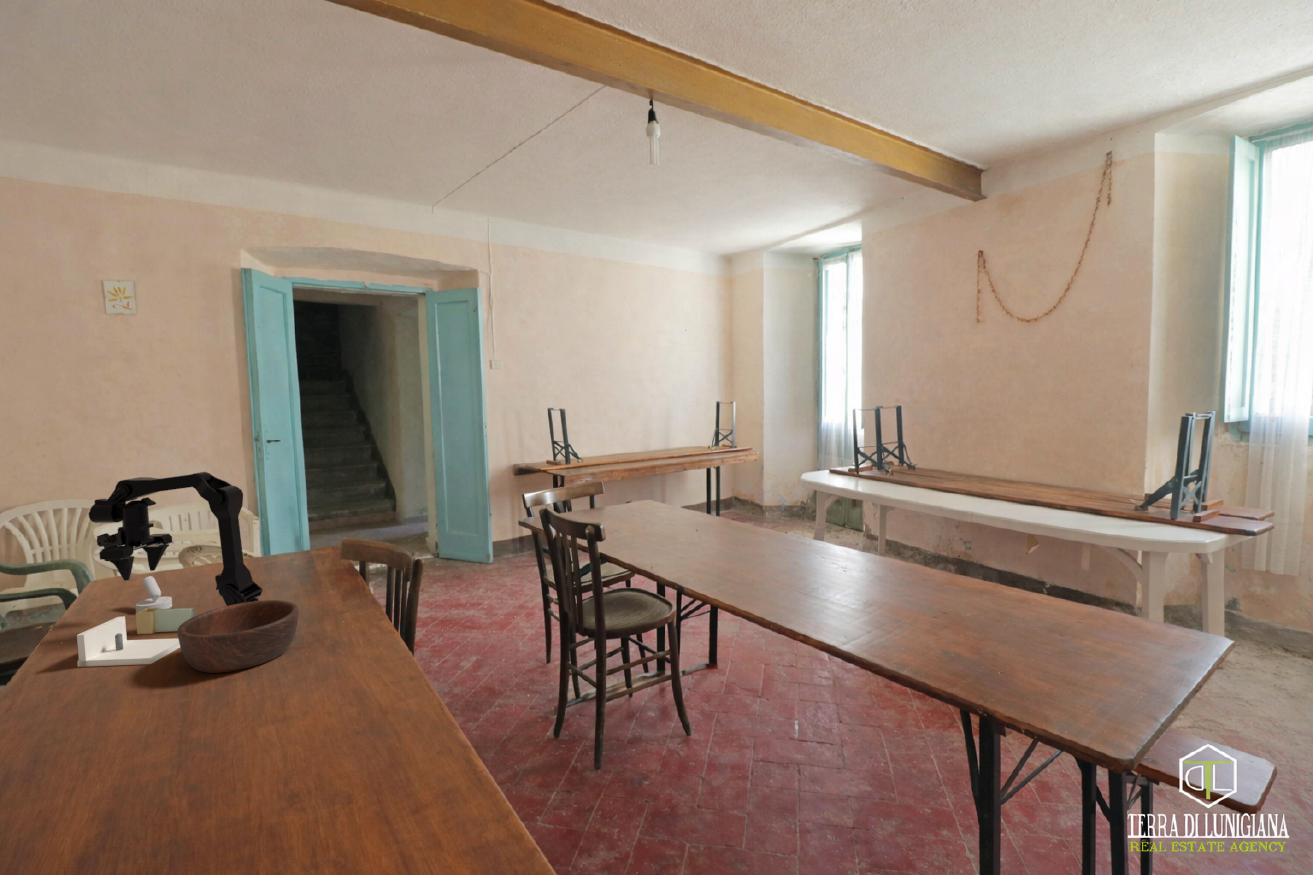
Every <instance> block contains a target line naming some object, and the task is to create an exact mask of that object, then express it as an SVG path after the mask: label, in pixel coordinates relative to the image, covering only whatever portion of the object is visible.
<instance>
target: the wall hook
mask: <svg viewBox="0 0 1313 875" xmlns="http://www.w3.org/2000/svg"><path fill="white" fill-rule="evenodd" d="M141 582H142V583H141V584H142V586H143V587H144V589H145V592H146V594H147V596H148V598H146V599H142V600H141V601H138V602H136V603H135V614H136V613H137V612H139V611H141V610H144V609H146V608H161V607H162V609H172V607H173V598H172V597H171V596H161V595H162V591H161V589H160V586H159V585H158V582H157V581H156V579H155V577H154V576H150V575H149V576H146V577H145V578H142V581H141Z"/></svg>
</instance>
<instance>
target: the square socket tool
mask: <svg viewBox="0 0 1313 875" xmlns="http://www.w3.org/2000/svg"><path fill="white" fill-rule="evenodd" d="M195 611H196V610H195V607H181V608H180V607H179V608H177V607H176V608H169V609H162V607H161V608H146V609H144V610H141V611H139V612H137V613H136V612H135V623H136V624H135V625H136V634H137V635H151V634H154V633H158V632H159V633H162V632H177V630H178V628H179V626H180V625H181V624H183V623H184V622H185V621H187V620H189V619H191V618H192V617H195V616H196V612H195Z"/></svg>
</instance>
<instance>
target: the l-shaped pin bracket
mask: <svg viewBox="0 0 1313 875" xmlns="http://www.w3.org/2000/svg"><path fill="white" fill-rule="evenodd" d="M76 641H77V650H78V651H77V652H78V660H77V661H76V662H77V667H78V668H81V667H84V668H85V667H107V666H111V667H112V666H130V665H131V666H134V665H135V666H136V665H139V666H140V665H151V664H154V663H156V662H157V661H158V660H159V661H160V660H161V659H162V658H163V657H166V656H168V655H169V654H171V653H173V652H175V651H177V650H178V649H179V648H180V649H181V647H180V644H179V640H178V637H177V638H155V639H130V640H129V639H127V626H126V616H125V615H124V616H116V617H114V618H112V619H110V620H108V621H106V622H105V621H104V622H103V623H101V624H98V625H96V626H94V627H92V628H89V629H87V630H85V631H83V632H80V633H79V634H76Z"/></svg>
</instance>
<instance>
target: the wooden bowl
mask: <svg viewBox="0 0 1313 875" xmlns="http://www.w3.org/2000/svg"><path fill="white" fill-rule="evenodd" d="M298 621H299V606H298V604H296V603H294V602H291V601H287V600H282V599H281V600H277V599H276V600H275V599H270V600H269V599H268V600H267V599H266V600H265V599H264V600H258V601H253V602H246V603H240V604H234V605H230V606H227V605H225V606H221V607H218V608H214V609H211V610H208V611H205V612H202V613H200V614H198V615H195V617H192V618H191V619H189V620H187V621H185V622H184V623H183V624H181V625H180V626H179V628H178V630H177V631H176V635H177V638H178V640H179V644H180V650H181V653H182V655H183V657H184V658H185V661H186V662H187V663H188V664H189V666H191V667H192V668H193V669H195V670H196V671H199V672H201V673H207V674H219V673H220V674H221V673H230V672H237V671H241V670H245V669H249V668H253V667H256V666H259V665H262V664H265V663H267V662H270V661H272V660H274V659H276V658H278V657H279V656H281V655H282V654H284V653H285V652H286V651H287V650H288V649H289V648H290V646H291V644H292V643H293V641H294V639H295V636H296V634H297V628H298Z"/></svg>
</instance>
